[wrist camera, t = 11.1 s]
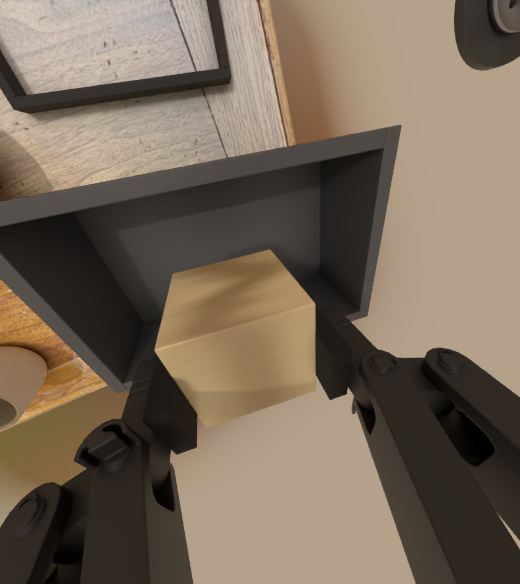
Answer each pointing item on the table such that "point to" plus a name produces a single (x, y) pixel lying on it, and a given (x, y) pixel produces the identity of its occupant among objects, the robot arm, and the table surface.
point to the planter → (18, 382)
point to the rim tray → (16, 96)
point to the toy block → (238, 337)
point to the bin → (196, 239)
